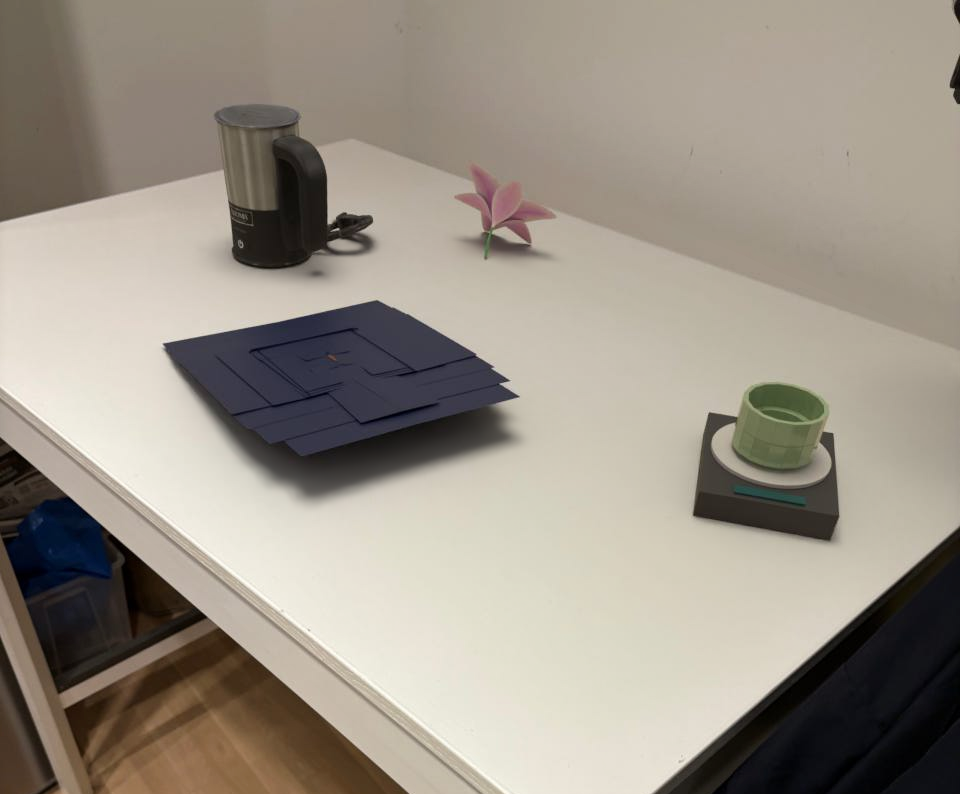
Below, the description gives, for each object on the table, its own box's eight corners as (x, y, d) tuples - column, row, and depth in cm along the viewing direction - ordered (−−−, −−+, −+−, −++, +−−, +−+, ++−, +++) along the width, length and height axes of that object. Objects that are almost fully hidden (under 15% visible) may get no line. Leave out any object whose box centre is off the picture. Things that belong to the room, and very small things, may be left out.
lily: (559, 272, 113) (574, 187, 110) (487, 249, 105) (502, 157, 103) (494, 271, 121) (507, 192, 119) (423, 249, 113) (435, 164, 111)
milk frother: (215, 258, 108) (195, 116, 97) (286, 216, 118) (275, 84, 108) (323, 284, 104) (314, 139, 94) (386, 238, 115) (385, 104, 105)
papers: (283, 494, 73) (276, 451, 70) (165, 371, 93) (156, 335, 91) (537, 421, 83) (538, 382, 81) (381, 324, 103) (379, 290, 101)
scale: (825, 456, 84) (835, 428, 82) (830, 540, 74) (841, 511, 72) (702, 435, 85) (709, 407, 83) (692, 515, 76) (700, 486, 74)
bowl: (811, 437, 80) (827, 389, 77) (812, 480, 76) (830, 430, 72) (732, 424, 81) (745, 376, 78) (728, 465, 76) (742, 415, 73)
